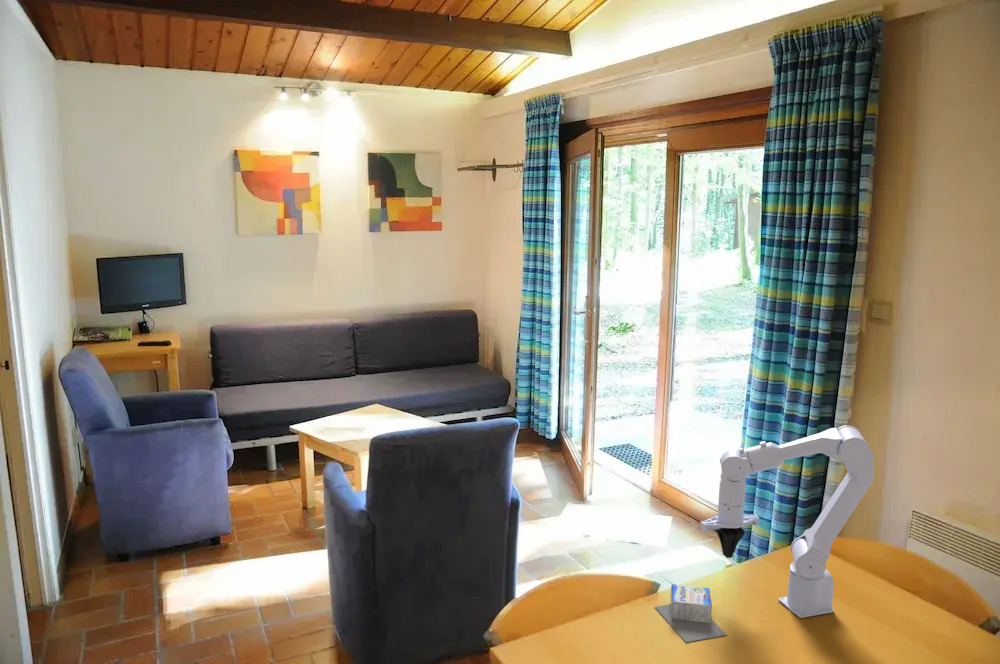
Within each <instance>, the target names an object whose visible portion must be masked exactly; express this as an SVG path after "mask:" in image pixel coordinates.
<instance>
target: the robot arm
mask: <svg viewBox="0 0 1000 664" xmlns="http://www.w3.org/2000/svg"><path fill="white" fill-rule="evenodd" d="M816 454H823V455H824V456H827V457H830V458H832V459H834V460H836V459H837V455H839V457H840V460H842V462H843V463H844V466H845V469H846V474H845V476H844V477H843V479H841V482H840V484H839V485H838V486H837V488H836V489H835V491H834V493H833V494H832V495H831V497H830V498H829V500H828V501H827V502H826V505H825V506H824V507H823V509H822V510H821V512H820V514H819V516H818V517H817V518H816V520H815V521H814V523H813V524H812V525H811V527H810V528H807V529H805V530H804V532H803V533H802V534H801V535H799V536H798V537H796V538H795V539H794V540H793V541H792V542H791V544H790V551H791V554H792V555H793V561H792V562H791V564H790V565H789V574H788V584H787V595H786V596H784V597H783V596H782V597H779V598H778V602H780V603H781V604H782V605H784V606H785V607H786V608H787V609H788V610H789V611H791V612H792V613H793V614H795V615H796V616H797V618H800V619H802V618H807V617H808V618H809V617H813V616H819V615H825V614H833V613H835V609H834V607H833V601H834V599H833V598H834V591H835V582H834V579H833V576H832V574H831V572H830V571H829V570H828V569H826V566H827V562H828V560H829V559H830V555H831V549H832V545H833V543H834V541H835V539H836V538H837V537H838V535H839V534H840V532H841V531H842V529H843V528H844V526H845V525H846V523H847V522H848V520H850V519H849V518H850V517H851V515H852V514H853V513H854V511H855V509H857V507H858V505H859V504H860V502H861V501H862V499H863V497H864V496H865V495H866V493H867V491H868V490H869V489H870V487H871V485H872V484H873V483H874V481H875V463H874V459H875V454H874V452H873V450H872V448H871V446H870V444H869V443H868V442H867V441H866V440H865V438H864V436H863V435H862V432H861V431H860V430H859V429H858V428H857V427H855V426H853V425H842V426H839V427H838V428H837V427H830V428H827V429H825V430H823V431H821V432H818V433H816V434H811V435H809V436H806V437H802V438H799V439H795V440H793V441H790V442H785V443H783V444H776V443H775V442H771V441H769V442H766V441H765V440H763V441H759V445H754V446H750V447H746V448H744V447H739V448H738V450H737V449H728V450H727V451H725V452H724V453H722V455H721V458H720V459H719V463H720V467H721V473H720V481H719V486H718V487H719V488H718V489H719V490H718V504H717V505H718V506H717V515H716V516H713V517H710V518H709V519H706V520H700V523H699V525H700V526H699V529H700V530H701V531H702V532H704V533H709V531H715V532H716V534H717V536H718V539H719V542H720V546H721V552H722V555H723V556H724V557H725V558H727V559H731V558H733V557H734V553H735V551H736V548H737V546H738V544H739V542H740V541H741V540H742V538H743V537H744V536H745V533H746V532H745V529H744V528H742V527H745V526H751V525H754V526H755V527H757V526H759V525H760V517H759V516H758V515H756V514H755V513H754V514H752V513H751V514H745V513H744V512H745V499H746V498H745V497H746V478H747V477H748V475H749V474H756V473H759V472H763V471H764V472H765V471H767V470H772V469H775V468H779V467H780V466H781V465H782V463H783V462H784V461H786V460H790V459H794V458H795V459H796V458H801V457H807V456H811V455H816Z"/></svg>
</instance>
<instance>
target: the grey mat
mask: <svg viewBox="0 0 1000 664" xmlns="http://www.w3.org/2000/svg"><path fill="white" fill-rule="evenodd" d="M654 608H655V610H656V611H657V612H658V613H659V615H661V617H663V619H664V620H665V621H666V622H667V623H668V624H669V626H670V627H672V629H673V630H674V632H676V634H677V635H679V636H680V638H681V639H682V640H683V641H684V642H685V644H686V643H693V642H698V641H704V640H710V639H714V638H715V639H716V638H719V637H725V636H728V634H727V633H726V632H725V631H724V630H723V629H722V628H721V627H720V626H719V625H718V624H717V623H716V622H715V620H713V618H711V621H710V623H703V622H695V621H686V620H678V619H672V613H671V603H670V604H669V603H668V604H665V605H664V604H663V605H658V606H654Z"/></svg>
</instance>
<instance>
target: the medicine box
mask: <svg viewBox="0 0 1000 664" xmlns="http://www.w3.org/2000/svg"><path fill="white" fill-rule="evenodd" d="M710 590H711V589H710V588H709V587H701V586H694V585H685V584H678V583H677V584H675V583H672V584H671V587H670V604H671V613H672V619H678V620H686V621H695V622H703V623H710V621H711V619H712V611H713V609H712V608H713V603H712V598H711V591H710Z"/></svg>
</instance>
